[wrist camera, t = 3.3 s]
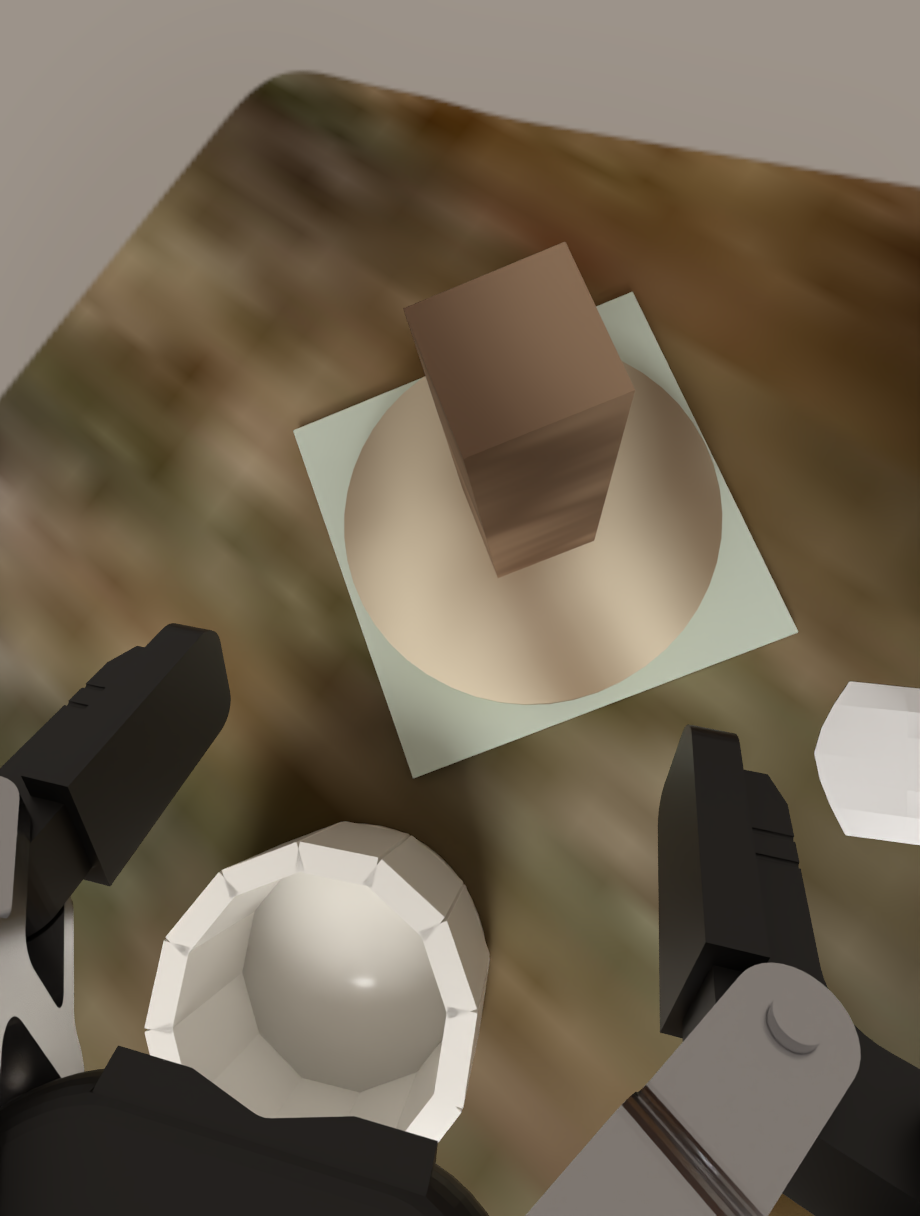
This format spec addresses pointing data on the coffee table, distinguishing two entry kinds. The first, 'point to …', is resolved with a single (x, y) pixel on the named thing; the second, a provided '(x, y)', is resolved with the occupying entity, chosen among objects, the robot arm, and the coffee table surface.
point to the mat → (467, 725)
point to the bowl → (329, 981)
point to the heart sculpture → (873, 761)
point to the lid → (530, 497)
